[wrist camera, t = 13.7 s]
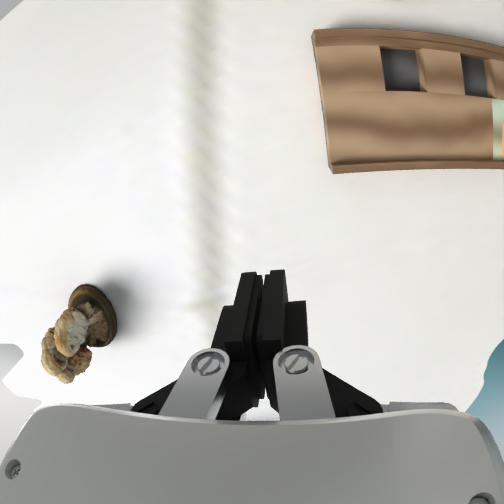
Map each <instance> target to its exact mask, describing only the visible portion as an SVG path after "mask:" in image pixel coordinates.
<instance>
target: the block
mask: <svg viewBox="0 0 504 504" xmlns="http://www.w3.org/2000/svg"><path fill="white" fill-rule="evenodd" d="M501 155H503V156H504V122H503V134H502V150H501Z"/></svg>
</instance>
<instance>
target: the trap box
mask: <svg viewBox="0 0 504 504" xmlns="http://www.w3.org/2000/svg"><path fill="white" fill-rule="evenodd" d="M311 38H312V44H313V50H314V56H315V62H316V68H317V75H318V81H319V88H320V95H321V103H322V111H323V119H324V127H325V136H326V145H327V155H328V166H329V168H330V170H331V171H332V173H333V174H341V173H355V172H371V171H389V170H414V169H504V156H503V155H501V150H502V134H503V122H504V47H501V46H497V45H493V44H489V43H484V42H480V41H475V40H470V39H465V38H460V37H454V36H448V35H441V34H434V33H425V32H416V31H405V30H391V29H364V28H345V29H317V30H314V31H313V33H312V36H311Z"/></svg>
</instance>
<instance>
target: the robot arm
mask: <svg viewBox="0 0 504 504" xmlns="http://www.w3.org/2000/svg"><path fill="white" fill-rule="evenodd" d="M265 387H266V392H267V397H268V399H269V400H270V405H271V407H272V408H273V409H274V410H276V411H277V412H278V413H279V416H280V421H245V420H246V411H248V410H249V409H251V408H252V407H258V404H259V399H264V395H265ZM0 504H504V462H503V459H502V457H501V454H500V452H499V449H498V446H497V444H496V442H495V440H494V438H493V436H492V434H491V432H490V431H489V429H488V428H487V427H486V425H485V424H484V423H483V422H482V421H481V420H479V419H478V418H476V417H475V416H472V415H470V414H467V413H464V412H459V411H458V410H457V408H456V407H455V406H453V405H451V404H449V403H443V402H439V403H416V402H390V403H389V405H382V404H379V403H378V402H377V401H376V400H375V399H373V398H372V397H370V396H368V395H366V394H365V393H363V392H361V391H359V390H358V389H356V388H354V387H353V386H351V385H349V384H348V383H346V382H344V381H343V380H341V379H339V378H338V377H336V376H334V375H333V374H331V373H329V372H328V371H326V370H325V369H323V368H322V366H321V362H320V359H319V356H318V354H317V352H316V351H314V350H313V349H312V348H310V347H308V328H307V312H306V300H305V301H293V302H288V294H287V285H286V277H285V270H284V269H283V270H271V271H270V274H267V275H265V280H264V285H263V279H262V275H257V273H256V272H246V273H242V274H241V278H240V281H239V285H238V289H237V293H236V297H235V301H234V305H230V306H224V307H223V309H222V312H221V315H220V319H219V322H218V325H217V329H216V332H215V335H214V339H213V342H212V345H211V348H208V349H204V350H201V351H199V352H197V353H195V354H194V355H193V356H191V358H190V359H189V360H188V362H187V364H186V366H185V367H184V369H183V371H182V373H181V375H180V376H179V378H178V380H176V381H174V382H172V383H171V384H169V385H167V386H165V387H164V388H162V389H160V390H158V391H156V392H155V393H153V394H151V395H149V396H147V397H146V398H144V399H142V400H140V401H139V402H137V403H136V404H135V405H134V406H132V405H131V404H130V403H129V404H113V405H83V404H56V405H50V406H46V407H43V408H40V409H38V410H37V411H35V412H34V413H33V414H32V415H31V416H30V417H29V418H28V420H27V421H26V422H25V424H24V425H23V427H22V428H21V429H20V431H19V432H18V434H17V436H16V437H15V439H14V441H13V442H12V444H11V446H10V448H9V450H8V451H7V453H6V455H5V457H4V459H3V461H2V463H1V465H0Z"/></svg>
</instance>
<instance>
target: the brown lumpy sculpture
mask: <svg viewBox="0 0 504 504" xmlns="http://www.w3.org/2000/svg"><path fill="white" fill-rule="evenodd" d="M116 329H117V321H116V316H115V312H114V309H113V307H112V305H111V303H110V302H109V301H108V300H107V299H106V296H105V295H104V294H103V293H102V292H101V291H99V290H98V289H96V288H95V287H92V286H90V285H81V286H78V287H77V288H76V289H75V290H74V291H73V293H72V294H71V296H70V299H69V304H68V309H67V310H65V311H64V312H63V314H62V315H61V316H60V318H59V319H58V320H57V321H56V323H55V327H53V328H49V329H48V332H47V333H46V334H45V337H44V338H43V340H42V343H41V345H42V356H41V363H42V365H43V367H44V369H45V370H46V371H47V372H48V373H49V374H50V375H52V376H56V377H57V378H58V379H59V381H61V382H62V383H67V384H68V383H71V382H72V381H73V379H74V377H75V376H76V375H79V374H80V373H83V372H85V370H86V369H87V368H88V367H89V365H90V364H89V363H90V362H91V358H92V352H91V351H90V350H89V349H87V345H88V346H89V347H104V346H107V345H108V344H110V343H111V341H112V340H113V338H114V337H115V334H116ZM109 340H110V341H109Z"/></svg>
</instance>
